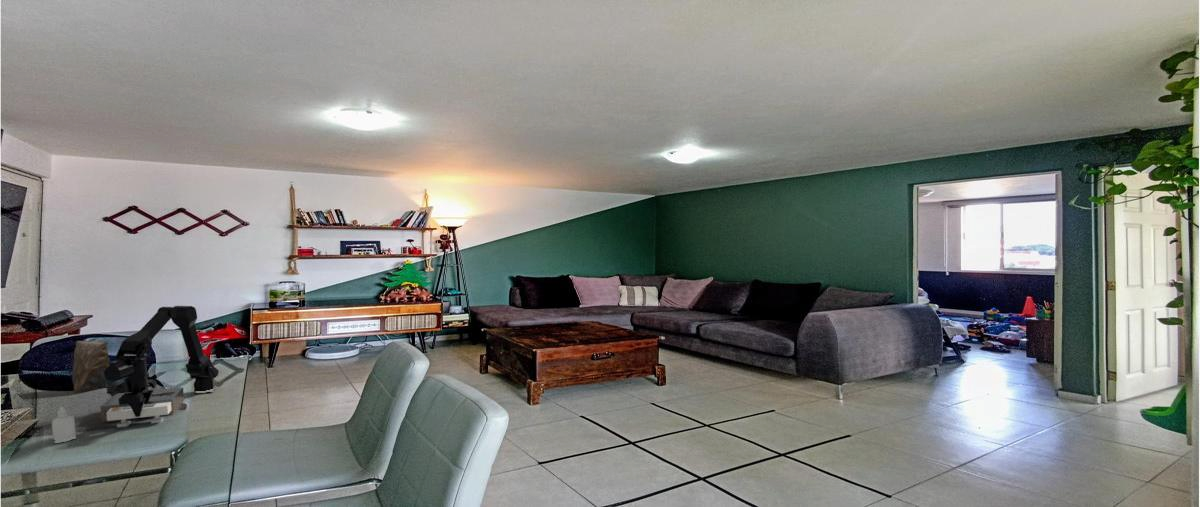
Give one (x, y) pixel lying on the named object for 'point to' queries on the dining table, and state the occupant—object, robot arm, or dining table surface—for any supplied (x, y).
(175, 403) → the keyhole board
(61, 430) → the eye dropper bottle
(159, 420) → the power strip
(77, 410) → the dining table surface
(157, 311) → the robot arm
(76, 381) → the brown paper bag
